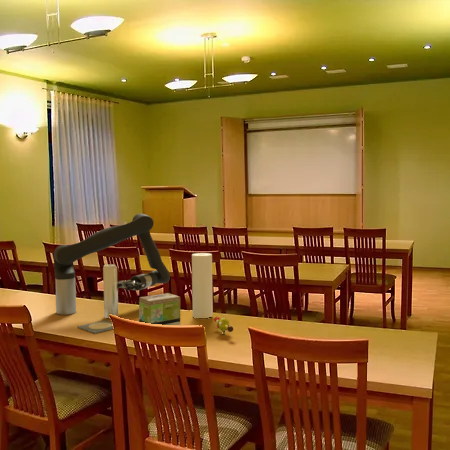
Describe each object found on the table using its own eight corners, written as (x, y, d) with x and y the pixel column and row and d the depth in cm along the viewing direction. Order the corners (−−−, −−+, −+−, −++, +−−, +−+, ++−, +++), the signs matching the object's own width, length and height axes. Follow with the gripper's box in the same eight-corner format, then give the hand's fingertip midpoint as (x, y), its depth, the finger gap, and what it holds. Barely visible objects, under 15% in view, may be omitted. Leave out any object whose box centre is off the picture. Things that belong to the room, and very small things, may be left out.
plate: (77, 327, 223) (77, 325, 223) (105, 321, 233) (105, 319, 233) (94, 333, 213) (94, 332, 213) (122, 327, 223) (122, 325, 223)
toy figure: (209, 329, 219) (209, 313, 218) (221, 327, 221) (221, 312, 220) (224, 341, 202) (224, 324, 201) (237, 339, 204) (237, 322, 203)
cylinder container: (215, 317, 237) (214, 254, 235) (196, 319, 234) (195, 255, 232) (208, 313, 246) (207, 251, 244) (190, 315, 243) (189, 252, 240)
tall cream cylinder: (115, 319, 236) (113, 266, 234) (102, 318, 237) (100, 265, 235) (120, 315, 242) (119, 263, 241) (107, 315, 244) (106, 263, 242)
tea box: (151, 336, 209) (150, 301, 208) (138, 331, 217) (138, 297, 216) (181, 329, 219) (180, 295, 218) (168, 324, 226) (167, 292, 225)
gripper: (130, 273, 262) (108, 278, 248) (152, 275, 255) (131, 281, 241) (130, 287, 263) (108, 293, 249) (152, 290, 256) (131, 296, 242)
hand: (120, 287), depth 245 cm, fingers open, 8 cm apart
